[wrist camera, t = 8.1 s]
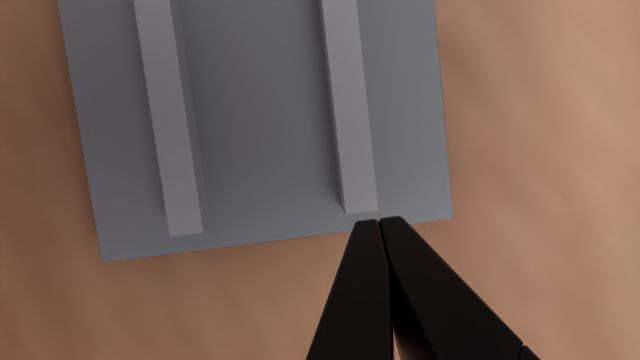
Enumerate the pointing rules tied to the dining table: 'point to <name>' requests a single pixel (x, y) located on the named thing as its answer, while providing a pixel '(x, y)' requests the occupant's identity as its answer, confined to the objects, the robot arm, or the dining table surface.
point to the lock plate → (254, 119)
